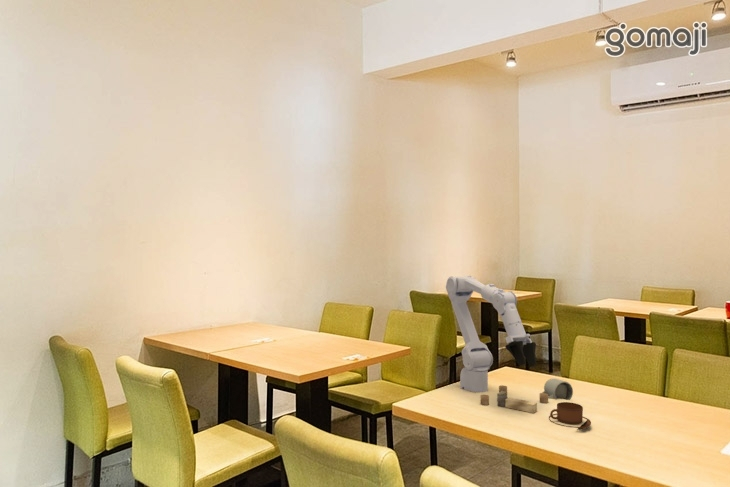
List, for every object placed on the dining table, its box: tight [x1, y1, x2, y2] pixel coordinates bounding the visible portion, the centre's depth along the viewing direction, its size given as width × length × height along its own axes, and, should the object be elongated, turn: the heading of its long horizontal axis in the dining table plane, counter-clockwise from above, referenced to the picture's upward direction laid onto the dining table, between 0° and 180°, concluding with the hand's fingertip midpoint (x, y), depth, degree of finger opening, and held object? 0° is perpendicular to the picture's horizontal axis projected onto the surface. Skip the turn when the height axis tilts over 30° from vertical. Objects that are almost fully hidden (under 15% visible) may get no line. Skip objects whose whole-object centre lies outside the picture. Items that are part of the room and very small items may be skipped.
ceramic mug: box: [541, 378, 574, 401], centre depth 190 cm, size 10×8×7 cm
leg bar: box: [497, 395, 538, 414], centre depth 175 cm, size 13×3×3 cm, turn 52°
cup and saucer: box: [548, 401, 592, 431], centre depth 164 cm, size 12×12×6 cm
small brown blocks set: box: [479, 384, 549, 407], centre depth 181 cm, size 18×18×4 cm
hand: (528, 365), depth 174 cm, fingers open, 7 cm apart
